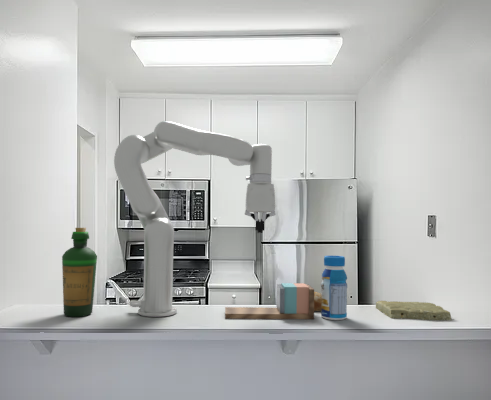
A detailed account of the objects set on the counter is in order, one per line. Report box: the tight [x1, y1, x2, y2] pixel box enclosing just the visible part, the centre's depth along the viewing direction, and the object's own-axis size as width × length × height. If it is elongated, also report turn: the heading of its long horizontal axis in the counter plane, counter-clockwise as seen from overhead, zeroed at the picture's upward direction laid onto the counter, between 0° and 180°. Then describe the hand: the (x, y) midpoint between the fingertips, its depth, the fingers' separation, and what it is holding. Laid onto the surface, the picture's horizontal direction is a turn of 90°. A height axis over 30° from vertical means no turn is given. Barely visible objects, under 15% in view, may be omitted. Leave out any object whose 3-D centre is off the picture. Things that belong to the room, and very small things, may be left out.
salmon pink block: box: [293, 282, 309, 314], centre depth 145 cm, size 4×8×8 cm, turn 3°
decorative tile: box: [375, 300, 452, 321], centre depth 150 cm, size 19×20×4 cm
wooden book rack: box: [224, 284, 315, 320], centre depth 144 cm, size 28×10×10 cm, turn 93°
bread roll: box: [314, 291, 322, 312], centre depth 156 cm, size 10×10×8 cm
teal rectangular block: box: [281, 282, 297, 314], centre depth 144 cm, size 4×8×8 cm, turn 2°
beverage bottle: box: [320, 255, 348, 321], centre depth 142 cm, size 8×8×20 cm
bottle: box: [61, 227, 98, 318], centre depth 141 cm, size 11×11×28 cm
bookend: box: [275, 283, 285, 313], centre depth 144 cm, size 2×9×8 cm, turn 3°
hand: (259, 232), depth 151 cm, fingers closed
